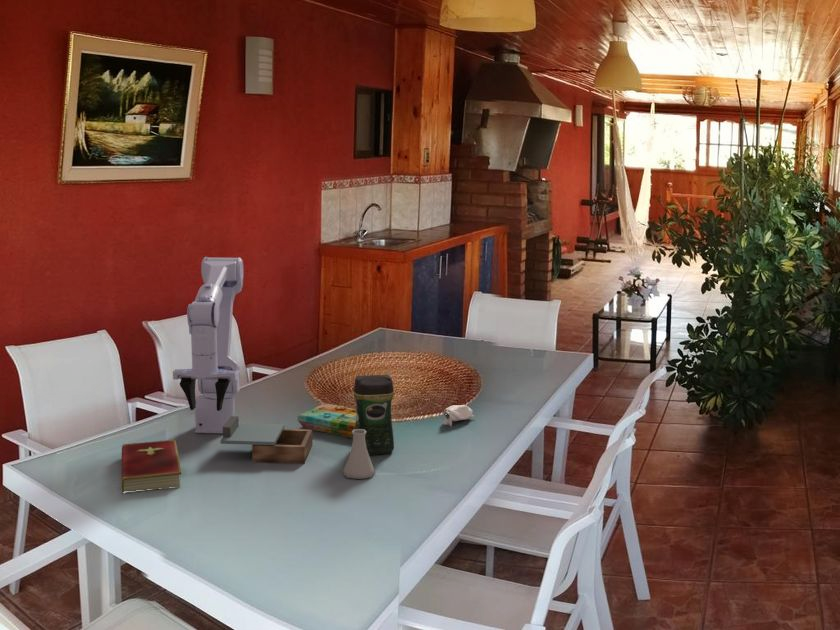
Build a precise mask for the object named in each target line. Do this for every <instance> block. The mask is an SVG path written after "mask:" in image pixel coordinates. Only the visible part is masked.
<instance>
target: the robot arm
mask: <svg viewBox="0 0 840 630" xmlns="http://www.w3.org/2000/svg"><path fill="white" fill-rule="evenodd" d="M200 271H201V278H202V281H203V284H202V285H201V286H200V287H199V289H198V290H197V294H196V296H195V299H194V301H192V303H189V304H188V306H187V311H186V318H187V320H186V321H187V324H188V325H187V326H188V332H189V333H188V334H189V335H190V336H191V337H190V342H191V343H190V344H191V368H183V369H182V368H181V369H179V368H177V369H174V370H173V371H172V380H180V382H179V386H180V388H181V390H182V391H183V392H184V395H185V397H186V400H187V402H188V405H189V410H190V411H194V410H195V411H194V413H195V415H194V417H195V430H194V433H196V434H198V433H199V434H223V426H224V425H225V423H226V422H227V421H228V420H229V418H230V417H231V416H236V415H235V414H236V412H235V411H236V409H235V395H238V393H239V392H240V389H241V368H240V366H239V363H238V362H237V361H235V360H234V359H233V358H231V357H230V355H231V342H232V341H231V340H232V327H233V326H232V325H233V324H232V323H233V309H234V301H235V298H236V295H237V294H239V293H240V292H242V290H243V289H242V288H243V285H244V261H243V259H242V258H241V257H239V256H238V257H208V256H204V258H203V259H202V261H201V270H200ZM196 381H197V389H198V392H199V393H200V394H198V395H197V397H196Z"/></svg>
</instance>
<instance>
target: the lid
mask: <svg viewBox="0 0 840 630" xmlns="http://www.w3.org/2000/svg"><path fill="white" fill-rule="evenodd" d="M283 429H285V423H283V424H282V423H258V422H257V423H255V422H253V423H249V422H240V421H239V416H236V415H235V416H231V417H230V418H229V420H228V421H227V422H226V423H225V425H224V426H223V433H222V437H221V439H220V444H221V445H251V446H252V445H275V444H276V442H277V440H278V438H279V436H280V435H281V433H282V431H283Z"/></svg>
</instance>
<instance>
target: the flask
mask: <svg viewBox="0 0 840 630" xmlns="http://www.w3.org/2000/svg"><path fill="white" fill-rule="evenodd" d="M352 434H353V438H352V444H351V445H352V446H351V448H350V452H349V454H348V457H347V460H346V463H345V465H344V468H343V471H342V474H343V475H344V476H345V477H346V479H347V478H348V479H355V480H362V479H369V478H373V476H374V475H375V474H376V471H375V468H374V465H373V462H372V459H371V457H370V455H369V454H368V451H367V448H366V442H365V434H366V430H364V429H355V430H353V431H352Z"/></svg>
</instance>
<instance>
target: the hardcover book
mask: <svg viewBox="0 0 840 630" xmlns="http://www.w3.org/2000/svg"><path fill="white" fill-rule="evenodd" d="M179 457H180V456H179V451H178V445H177V440H176V439H169V440H168V439H167V440H158V441H157V440H155V441H144V442H135V443H133V442H132V443H124V444H123V443H122V446H121V493H122V492H124V491H136V490H147V489H159V488H169V487H180V488H181V485H180V484H181V483H180V481H181V480H180V479H181V478H180V475H182V469H181V468H182V467H181V464H180V458H179Z"/></svg>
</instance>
